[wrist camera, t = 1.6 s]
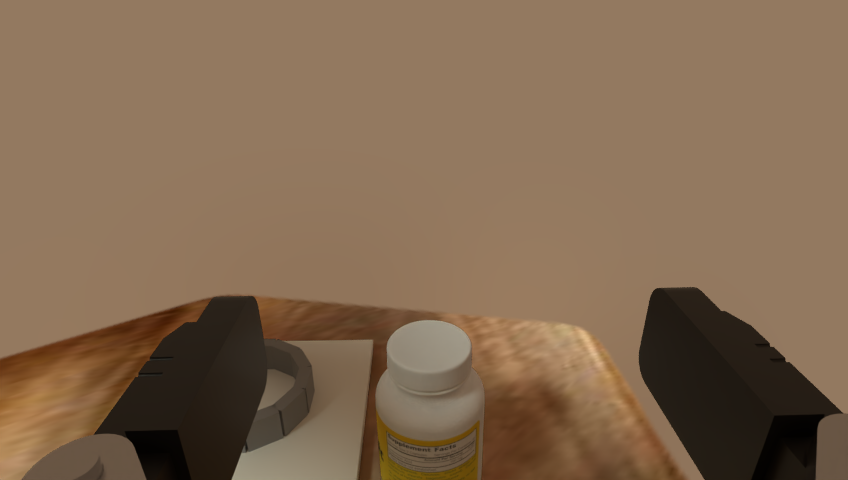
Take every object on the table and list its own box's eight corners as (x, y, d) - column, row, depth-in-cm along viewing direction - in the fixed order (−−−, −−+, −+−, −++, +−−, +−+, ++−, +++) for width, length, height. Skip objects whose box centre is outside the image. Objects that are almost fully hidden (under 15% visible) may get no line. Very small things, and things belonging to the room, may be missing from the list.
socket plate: (74, 503, 27) (58, 466, 26) (176, 351, 39) (168, 320, 38) (356, 498, 28) (353, 460, 26) (373, 348, 39) (371, 317, 38)
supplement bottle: (406, 438, 31) (402, 302, 27) (492, 467, 30) (502, 324, 25) (362, 513, 27) (350, 363, 23) (461, 552, 25) (467, 396, 21)
